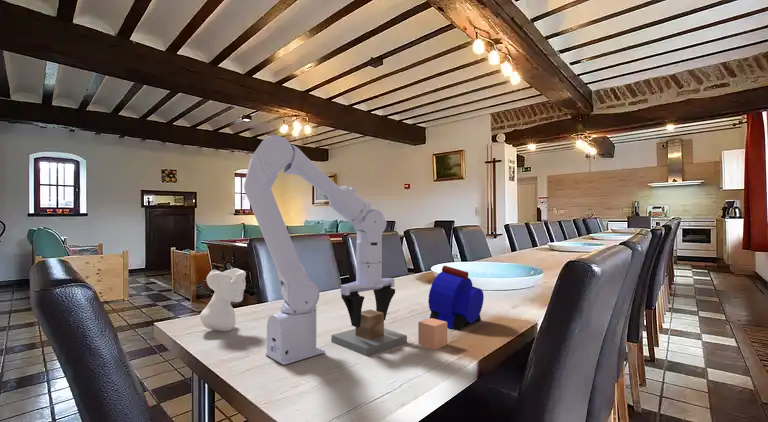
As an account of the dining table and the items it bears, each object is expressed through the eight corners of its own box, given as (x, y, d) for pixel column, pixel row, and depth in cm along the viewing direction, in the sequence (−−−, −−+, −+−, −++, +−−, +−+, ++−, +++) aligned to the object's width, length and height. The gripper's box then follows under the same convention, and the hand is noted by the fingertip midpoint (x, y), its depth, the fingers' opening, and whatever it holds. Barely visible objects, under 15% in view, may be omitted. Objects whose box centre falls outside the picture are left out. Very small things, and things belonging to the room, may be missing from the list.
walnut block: (368, 340, 78) (368, 316, 78) (355, 335, 82) (355, 312, 82) (383, 335, 81) (383, 313, 82) (370, 331, 85) (370, 309, 85)
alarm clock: (448, 314, 105) (447, 262, 106) (488, 322, 98) (488, 266, 98) (425, 324, 96) (425, 267, 96) (468, 333, 88) (467, 271, 89)
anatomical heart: (220, 323, 96) (220, 266, 97) (257, 327, 93) (257, 268, 93) (191, 334, 87) (192, 271, 87) (231, 338, 84) (231, 273, 84)
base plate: (366, 356, 73) (366, 348, 73) (331, 341, 82) (331, 335, 82) (406, 342, 81) (406, 335, 81) (371, 330, 90) (371, 324, 90)
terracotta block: (434, 349, 77) (434, 326, 77) (418, 344, 80) (418, 321, 80) (447, 344, 80) (447, 321, 80) (431, 340, 83) (431, 318, 83)
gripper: (355, 266, 74) (355, 333, 74) (403, 261, 84) (403, 320, 84) (334, 263, 79) (334, 326, 79) (382, 258, 89) (382, 314, 89)
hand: (368, 322), depth 82 cm, fingers open, 7 cm apart
